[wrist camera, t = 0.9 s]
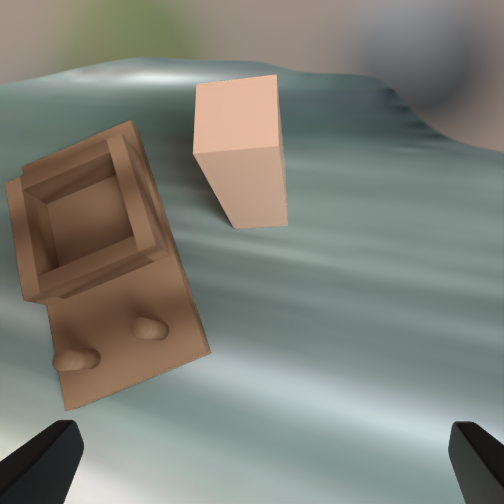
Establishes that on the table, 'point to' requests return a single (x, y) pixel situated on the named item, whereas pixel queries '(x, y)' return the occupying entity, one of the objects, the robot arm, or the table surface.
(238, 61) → the table surface
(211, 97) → the clay bar
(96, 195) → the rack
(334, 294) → the table surface
